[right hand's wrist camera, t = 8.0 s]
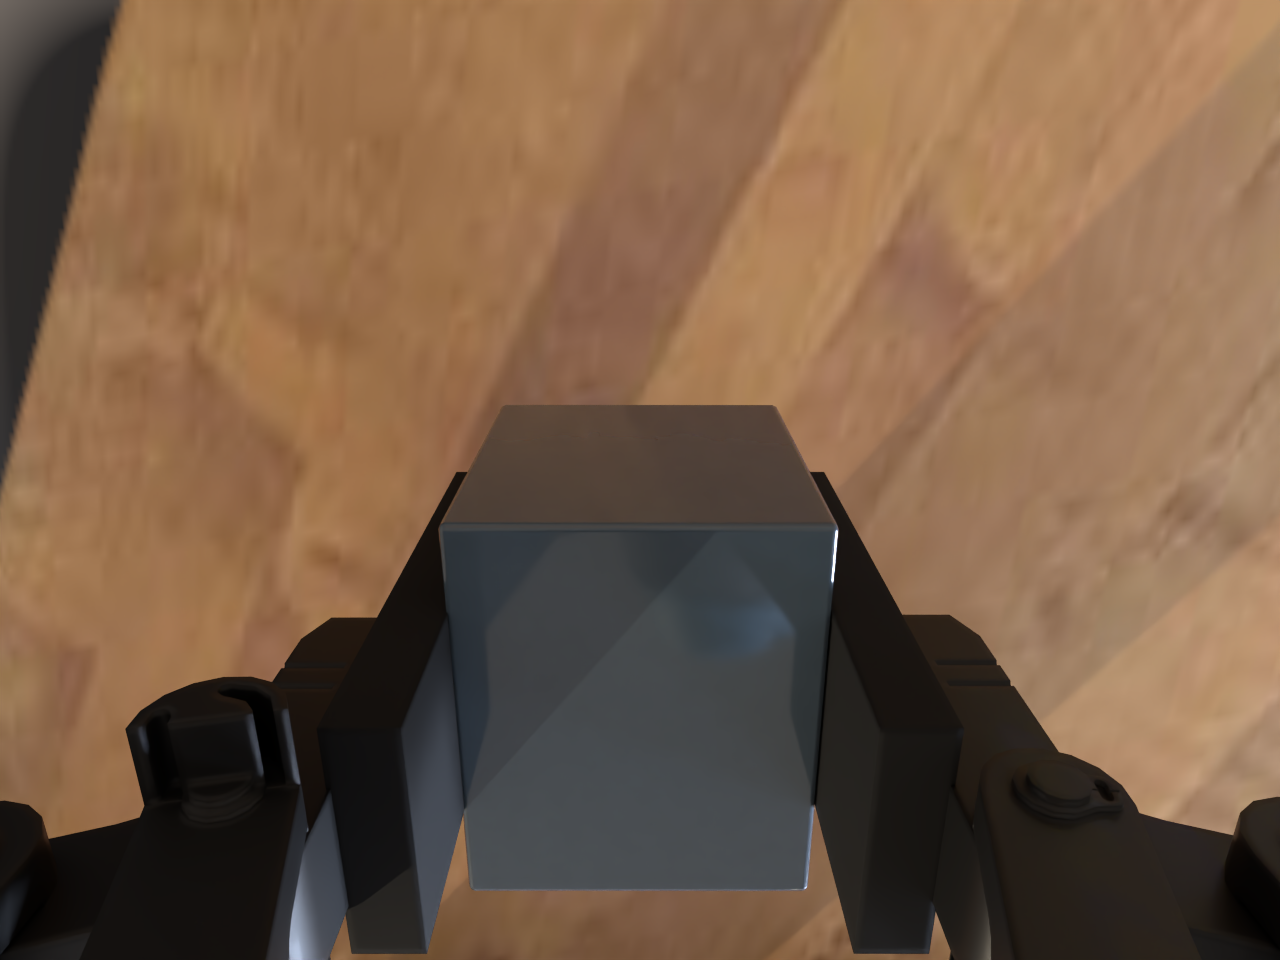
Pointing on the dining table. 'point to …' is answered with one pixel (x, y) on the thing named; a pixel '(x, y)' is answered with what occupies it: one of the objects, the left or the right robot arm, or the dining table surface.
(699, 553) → the block
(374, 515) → the dining table surface
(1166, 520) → the dining table surface
